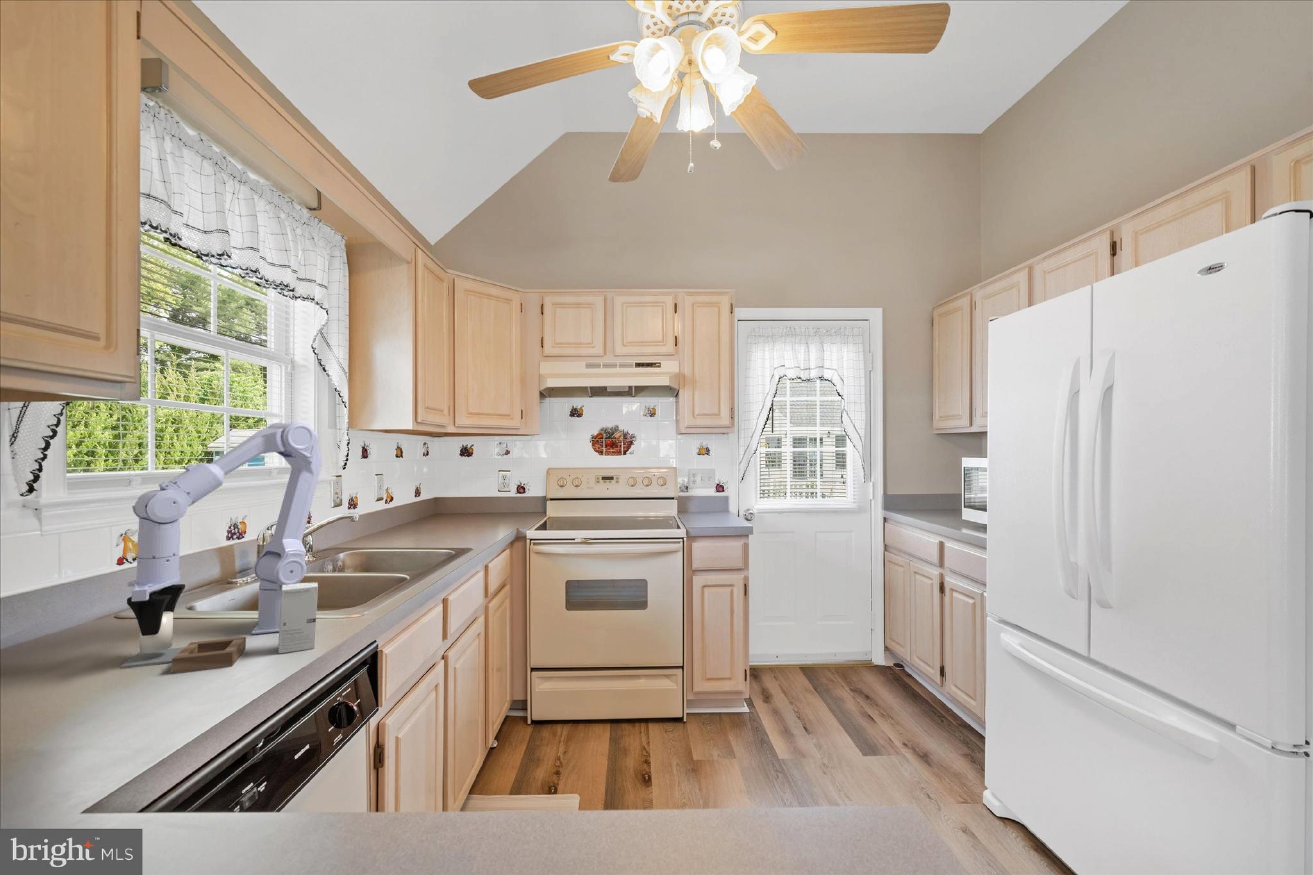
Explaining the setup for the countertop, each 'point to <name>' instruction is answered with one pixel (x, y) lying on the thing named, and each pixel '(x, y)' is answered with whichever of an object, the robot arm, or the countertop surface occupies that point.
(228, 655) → the walnut holder
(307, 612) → the skincare box
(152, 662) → the slate mat
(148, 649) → the cream rounded capsule
